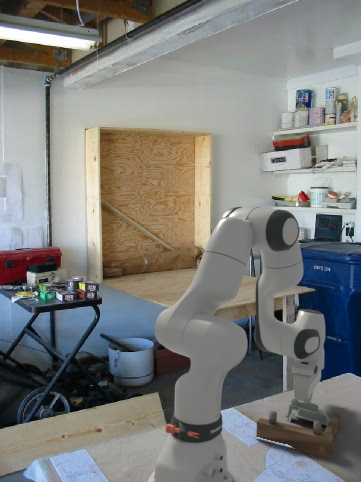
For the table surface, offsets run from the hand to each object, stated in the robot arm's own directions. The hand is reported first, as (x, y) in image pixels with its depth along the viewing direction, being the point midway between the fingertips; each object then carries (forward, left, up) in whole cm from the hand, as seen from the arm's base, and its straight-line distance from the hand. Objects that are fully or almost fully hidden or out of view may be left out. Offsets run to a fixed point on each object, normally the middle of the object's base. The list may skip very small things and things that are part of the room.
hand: (307, 403), depth 156 cm
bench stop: (-15, -2, -2) cm, 15 cm away
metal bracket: (-6, -2, -3) cm, 7 cm away
